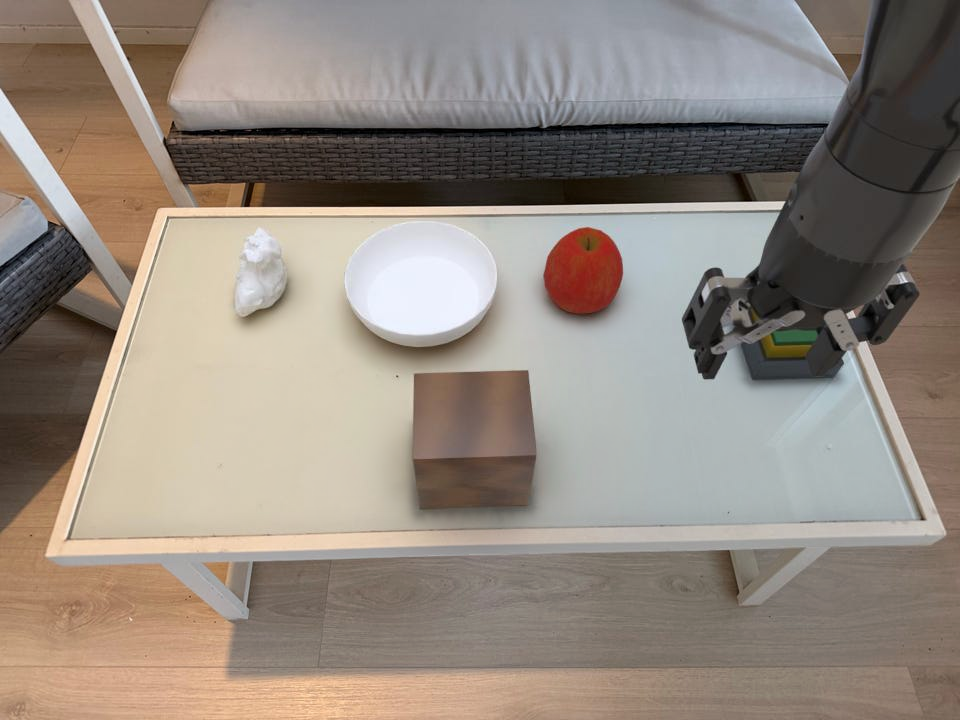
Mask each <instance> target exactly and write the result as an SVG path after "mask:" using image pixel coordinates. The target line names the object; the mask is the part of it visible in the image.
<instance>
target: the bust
mask: <svg viewBox="0 0 960 720" xmlns="http://www.w3.org/2000/svg"><path fill="white" fill-rule="evenodd" d="M282 255H283V254H282V247H281V245H280V242H279V241H278V240H277V239H276V238H275V237H274V236H272V234H271V233H270V232H269V231H268V230H265V229H264V228H263V227H257V228H256V231H255V232H254V234H253V235H249V236H247V237H246V238H244V243H243V250H242V252H241V253H239V254H238V259H239V260H242V261H241V262H240V264H239V265H238V270H237V272H236V275H235V291H234V309H235V311H236V314H237V315H238V316H239V317H241V318H246V317H247V316H249V315H251V314H253V313H254V312H255V311H257V310H260V309H267V308H270V307H272V306H274V304H275V303H276V302H277V301H278V300H279V299H280V298H281V297H282V296H283V294H284V292H285V289H286V286H287V282H288V273H287V268H286V267H285V263H284V261H283V259H282Z"/></svg>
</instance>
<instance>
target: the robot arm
mask: <svg viewBox="0 0 960 720" xmlns="http://www.w3.org/2000/svg"><path fill="white" fill-rule="evenodd" d="M867 17H868V18H867V21H866V27H865V33H864V39H863V46H862V53H861V57H860V61H859V64H858V66H857V68H856V70H855V71H854V72H853V75H852V77H851V78H850V81H849V82H848V85H847V87H846V89H845V91H844V93H843V95H842V97H841V99H840V101H839V103H838V105H837V107H836V109H835V111H834V113H833V115H832V117H831V119H830V121H829V122H828V125H827V127H826V129H825V130H824V132H823V133H822V135H821V137H820V138H819V140H818V141H817V142H816V143H815V145H814V146H813V148H812V149H811V151H810V152H809V154H808V156H807V157H806V159H805V161H804V163H803V165H802V166H801V168H800V171H799V173H798V175H797V177H796V179H795V181H794V183H793V185H792V187H791V188H790V191H789V193H788V195H787V197H786V199H785V201H784V204H783V206H782V207H781V210H780V212H779V213H778V216H777V217H776V219H775V221H774V224H773V226H772V228H771V230H770V232H769V233H768V236H767V238H766V240H765V243H764V246H763V250H762V255H761V257H760V262H759V264H758V265H757V266H756V267H754V269H752V271H750V272H749V273H748V274H747V275H746V276H745V277H725V276H724V272H723V270H722V268H720V267H716V266H715V267H711V268H708V269H706V271H705V272H704V273H703V275H702V277H701V279H700V281H699V283H698V285H697V287H696V289H695V292H694V293H693V295H692V297H691V299H690V301H689V303H688V305H687V307H686V309H685V310H684V313H683V314H682V317H681V323H682V327H683V330H684V334H685V337H686V342H687V346H688V348H689V349H690V350H693V351H694V352H693V359H694V363H695V367H696V371H697V374H701V376H702V380H706V381H707V380H715V379H716V376H717V375H718V373H719V371H720V369H721V367H722V365H723V363H724V362H725V359H726V358H727V356H728V351H730V350H732V349H733V348H735V347H737V346H739V345H741V343H742V342H747V343H749V344H751V343H754V342H756V341H758V340H759V339H761V338H763V337H765V336H766V335H768V334H770V333H772V332H778V331H787V330H793V329H796V330H803V331H815V330H816V329H817V328H818V327H822V326H825V325H828V327H824V328H823V330H822V331H821V332H820V334H819V335H818V337H817V338H816V340H815V341H814V343H813V344H812V346H811V347H810V349H809V350H808V351H807V353H806V361H807V364H808V366H809V369H810V372H811V374H812V376H813V377H820V376H825V374H826V373H827V372H828V370H831V369H832V368H834V367H835V366H836V365H837V364H838V362H839V361H840V360H841V358H842V359H843V357H844V356H845V354H846V353H847V352H848V351H853V350H856V349H857V348H858V347H859V346H860V343H864V342H867V341H868V342H869V344H870V345H871V346H879V345H881V344H884V343H886V342H887V341H888V340H889V339H890V337H891V336H892V334H893V332H894V331H895V329H897V327H898V326H899V324H900V323H901V322H902V320H903V319H904V318H905V317H906V315H907V313H908V312H909V311H910V309H911V308H912V306H913V305H914V304H915V302H916V301H917V300H918V298H919V297H920V295H921V293H920V291H919V289H918V287H917V286H916V283H915V280H914V278H912V275H911V273H910V272H909V270H908V268H907V267H906V265H905V264H904V262H905V261H906V260H907V258H908V257H909V255H910V254H911V253H912V252H913V250H914V249H915V247H916V246H917V244H918V243H919V242H920V241H921V239H922V238H923V236H924V235H925V234H926V233H927V232H928V230H929V228H930V227H931V225H933V223H934V222H935V220H936V219H937V217H938V216H939V214H940V213H941V212H942V210H943V208H944V207H945V205H946V203H947V201H948V199H949V197H950V195H951V193H952V191H953V189H954V187H955V185H957V182H958V181H959V180H960V0H871V4H870V8H869V12H868V16H867ZM750 306H751V307H752V309H753V310H754V312H755V314H756V315H757V317H758V319H759V321H758V322H756V323H754V324H753V325H752V323H751V320H750V317H749V314H748V309H749V307H750ZM860 307H862V308H861V310H860V311H859V312H858V313H857V316H856V317H850V318H849V316H848V314H849V313H850V312H852V311H854V310H856V309H858V308H860ZM730 324H732V325H733V328H732V329H731V330H730V331H728V332H727V333H725V331H724V328H726V327H727V326H729V325H730Z"/></svg>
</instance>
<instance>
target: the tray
mask: <svg viewBox="0 0 960 720" xmlns="http://www.w3.org/2000/svg"><path fill="white" fill-rule="evenodd" d="M750 309H751V306H750V307H749V309H748V314H749V317H750V320H751V323H752V325H753V324H754V323H755V322H754V319H753V316H752V313H751V310H750ZM824 327H828V325H825V326H822V327H818V328H817V329H816V331H817V334H818V335H819V334H820V332H821V331H822V330H823V328H824ZM740 345H741V348H742V351H743V355H744V357H745V361H746V364H747V367H748V370H749V373H750V377H751V379H752V380H754V381H755V380H758V381H759V380H790V379H791V380H794V379H826V378H827V379H829V378H830V379H831V378H834V377H836V375H837V374H838V373H839V371H840V370H841V369H842V367H843V366H844V365H845V362H844V359H843V357H842V358H841V360H840V361H839V362H838V364H837V365H836V366H835V367H834V368H832V369H831V370H828V372H827V373H826V374H825V376H820V377H813V376H812V374H811V372H810V369H809V366H808V364H807V361H806V357H789V358H767V357H766V354H765V351H764V348H763V345H762V342H761V339H759V340H758V341H756V342H754V343H751V344H749V343H747V342H742V343H740Z"/></svg>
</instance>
